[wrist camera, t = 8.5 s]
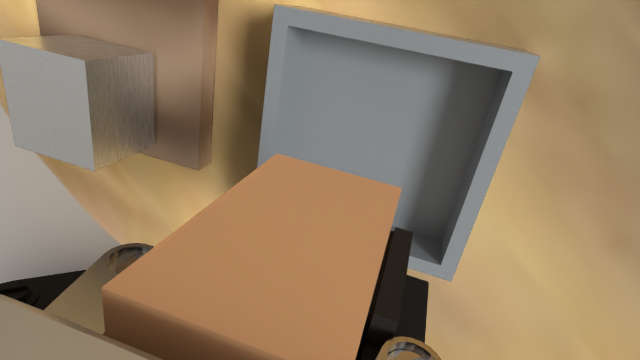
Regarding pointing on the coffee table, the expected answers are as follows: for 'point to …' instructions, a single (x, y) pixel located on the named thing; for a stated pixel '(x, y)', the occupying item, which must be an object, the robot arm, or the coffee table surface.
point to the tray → (396, 116)
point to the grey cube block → (79, 98)
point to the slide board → (157, 61)
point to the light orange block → (261, 270)
